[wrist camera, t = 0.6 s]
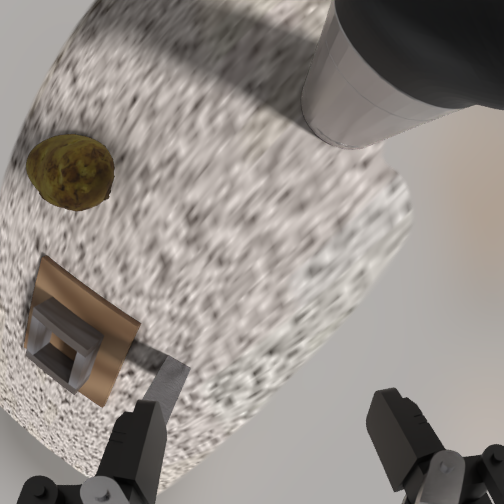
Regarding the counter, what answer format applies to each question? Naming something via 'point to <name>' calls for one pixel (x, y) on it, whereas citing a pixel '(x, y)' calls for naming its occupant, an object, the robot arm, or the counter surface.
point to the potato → (71, 171)
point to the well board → (76, 333)
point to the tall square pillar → (167, 385)
